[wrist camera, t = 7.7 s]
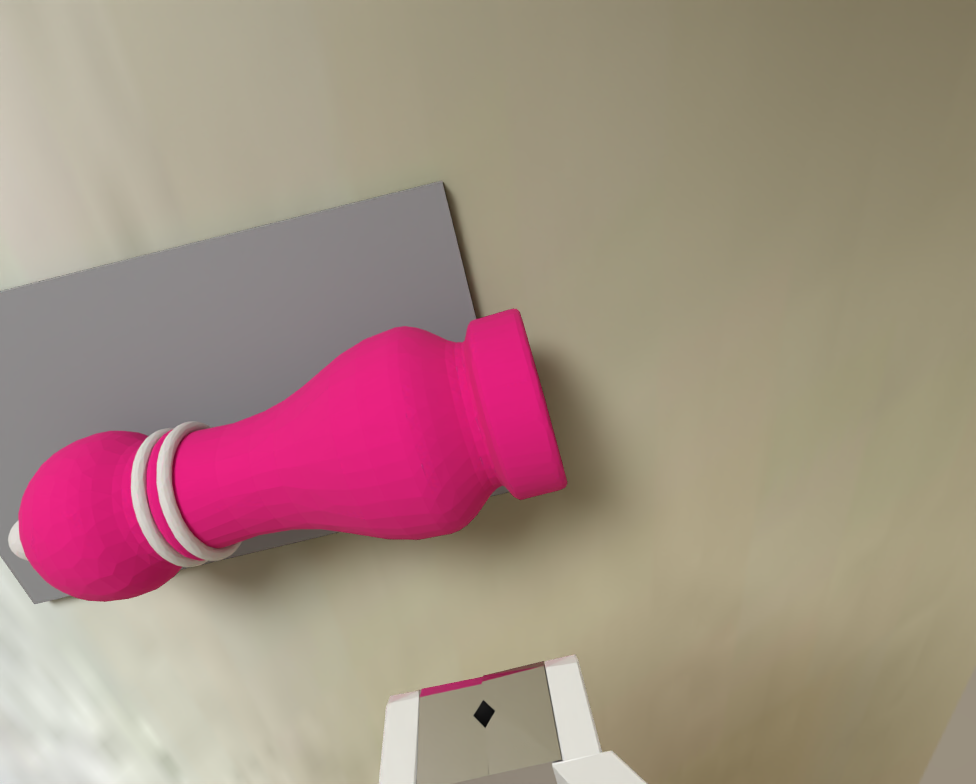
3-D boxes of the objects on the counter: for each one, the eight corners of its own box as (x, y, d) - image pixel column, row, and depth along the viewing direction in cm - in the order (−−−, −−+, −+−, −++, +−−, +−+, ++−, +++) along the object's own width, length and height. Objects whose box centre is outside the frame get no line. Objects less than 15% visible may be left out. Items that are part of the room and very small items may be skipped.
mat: (442, 180, 22) (442, 181, 21) (516, 482, 27) (518, 489, 26) (-143, 327, 22) (-158, 331, 22) (42, 594, 27) (34, 604, 27)
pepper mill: (504, 255, 21) (-6, 408, 23) (537, 380, 15) (-142, 570, 17) (547, 406, 26) (117, 524, 27) (585, 546, 20) (41, 683, 22)
